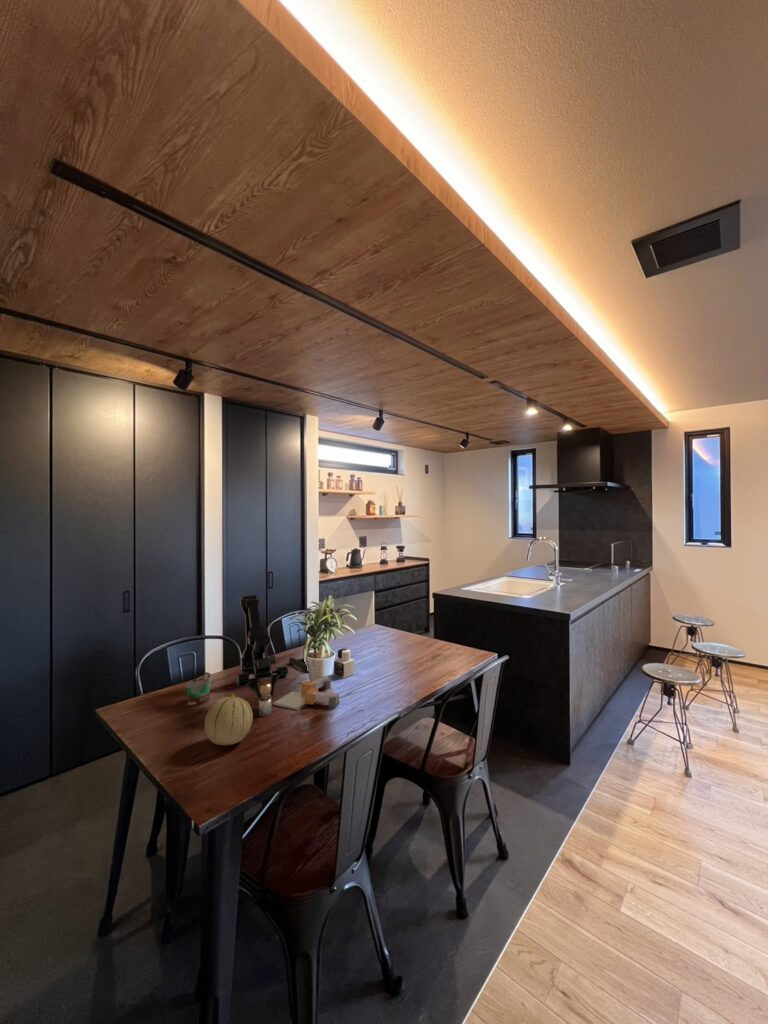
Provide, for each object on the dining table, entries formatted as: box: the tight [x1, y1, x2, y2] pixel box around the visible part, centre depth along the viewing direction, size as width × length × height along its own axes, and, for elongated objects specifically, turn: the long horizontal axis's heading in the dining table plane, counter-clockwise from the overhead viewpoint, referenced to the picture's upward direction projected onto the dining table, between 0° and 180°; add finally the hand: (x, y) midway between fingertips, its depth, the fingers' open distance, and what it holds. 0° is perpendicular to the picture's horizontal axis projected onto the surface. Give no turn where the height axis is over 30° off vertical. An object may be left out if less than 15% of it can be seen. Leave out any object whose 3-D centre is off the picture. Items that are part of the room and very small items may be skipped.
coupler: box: [258, 681, 272, 717], centre depth 156 cm, size 4×4×11 cm
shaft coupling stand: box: [272, 676, 340, 711], centre depth 169 cm, size 24×24×5 cm
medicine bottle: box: [333, 648, 356, 679], centre depth 195 cm, size 7×7×12 cm
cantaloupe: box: [204, 692, 254, 747], centre depth 135 cm, size 15×15×15 cm
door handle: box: [287, 657, 308, 673], centre depth 210 cm, size 3×20×16 cm
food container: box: [185, 671, 213, 707], centre depth 167 cm, size 12×6×10 cm, turn 168°
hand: (265, 697), depth 155 cm, fingers closed on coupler, 4 cm apart
